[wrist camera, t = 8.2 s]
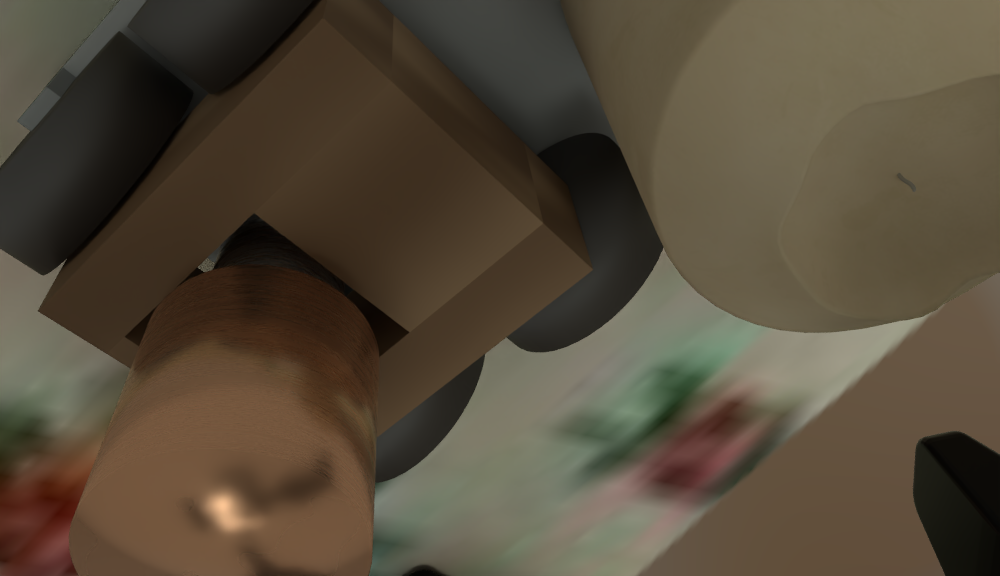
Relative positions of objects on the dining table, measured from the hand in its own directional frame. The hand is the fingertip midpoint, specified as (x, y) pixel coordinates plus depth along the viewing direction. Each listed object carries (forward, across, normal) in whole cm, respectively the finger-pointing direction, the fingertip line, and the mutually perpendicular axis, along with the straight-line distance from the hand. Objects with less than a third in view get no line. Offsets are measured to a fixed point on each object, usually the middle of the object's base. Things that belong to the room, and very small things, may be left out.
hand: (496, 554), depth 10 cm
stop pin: (+11, +4, +1) cm, 11 cm away
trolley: (+13, +2, 0) cm, 13 cm away
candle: (+12, -5, -2) cm, 13 cm away
